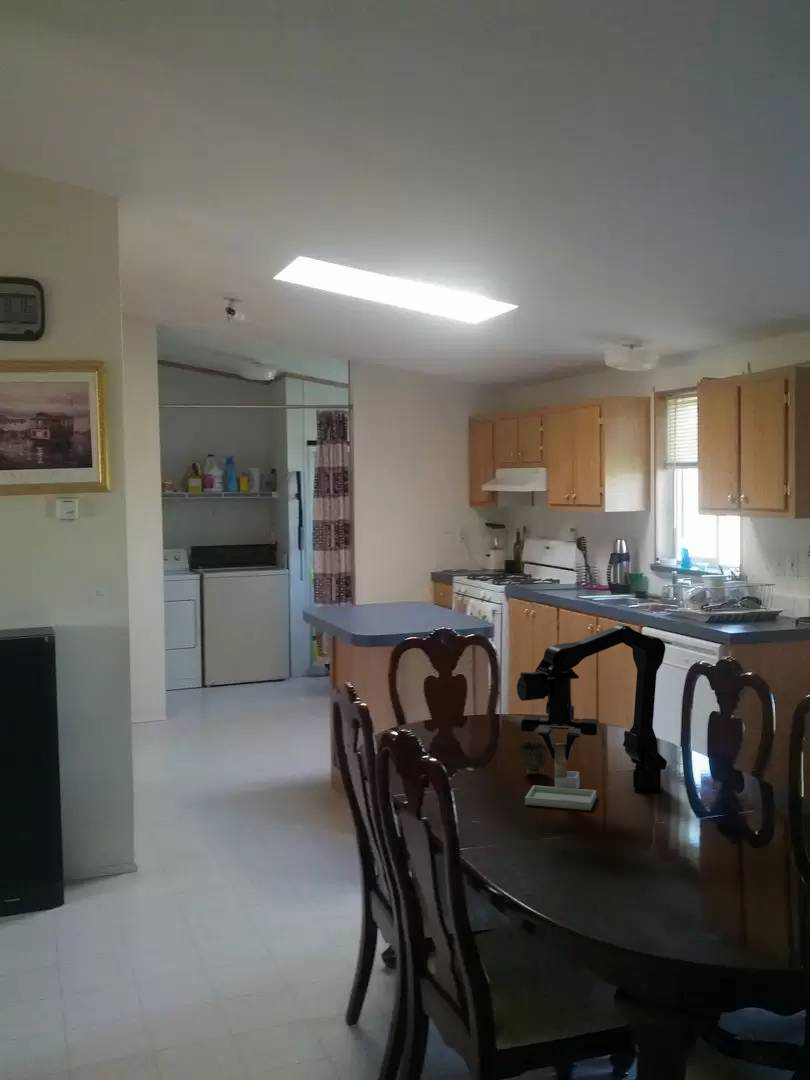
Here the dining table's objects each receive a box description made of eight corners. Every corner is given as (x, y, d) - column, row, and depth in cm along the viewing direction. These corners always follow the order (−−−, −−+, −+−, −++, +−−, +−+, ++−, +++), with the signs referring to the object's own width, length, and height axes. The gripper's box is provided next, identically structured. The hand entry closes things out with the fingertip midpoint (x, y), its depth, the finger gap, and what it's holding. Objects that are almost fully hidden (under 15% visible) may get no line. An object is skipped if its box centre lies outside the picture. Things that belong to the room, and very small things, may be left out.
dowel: (568, 775, 233) (567, 743, 232) (566, 778, 230) (565, 746, 229) (556, 774, 234) (555, 742, 233) (553, 777, 231) (553, 745, 230)
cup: (539, 779, 250) (538, 750, 249) (515, 775, 254) (514, 746, 254) (552, 772, 256) (551, 743, 255) (528, 768, 260) (528, 740, 260)
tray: (596, 797, 234) (596, 790, 234) (590, 810, 225) (590, 802, 224) (533, 792, 239) (533, 785, 239) (525, 804, 230) (525, 797, 230)
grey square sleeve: (579, 787, 243) (579, 771, 242) (576, 793, 237) (576, 778, 237) (558, 785, 244) (558, 770, 244) (554, 791, 239) (554, 776, 239)
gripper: (601, 692, 235) (602, 753, 236) (528, 688, 241) (530, 748, 242) (595, 701, 225) (596, 765, 225) (519, 698, 231) (521, 760, 232)
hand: (560, 759), depth 231 cm, fingers closed on dowel, 3 cm apart
